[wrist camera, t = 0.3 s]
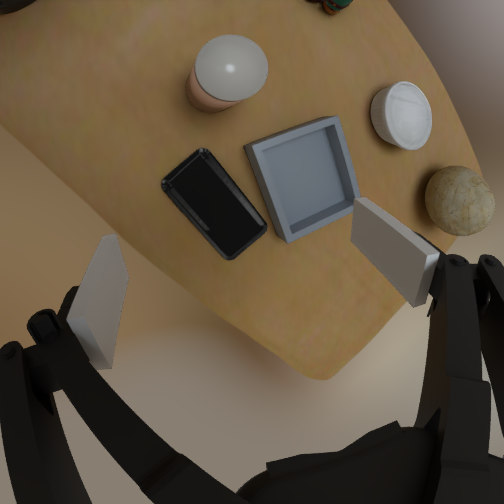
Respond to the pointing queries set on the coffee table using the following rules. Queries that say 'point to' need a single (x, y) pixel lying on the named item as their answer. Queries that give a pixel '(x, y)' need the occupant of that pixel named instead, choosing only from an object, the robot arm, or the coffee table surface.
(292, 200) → the tray
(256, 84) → the beige round cylinder
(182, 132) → the coffee table surface
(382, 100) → the ramekin
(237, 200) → the phone
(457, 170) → the fossilized egg
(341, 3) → the binoculars
